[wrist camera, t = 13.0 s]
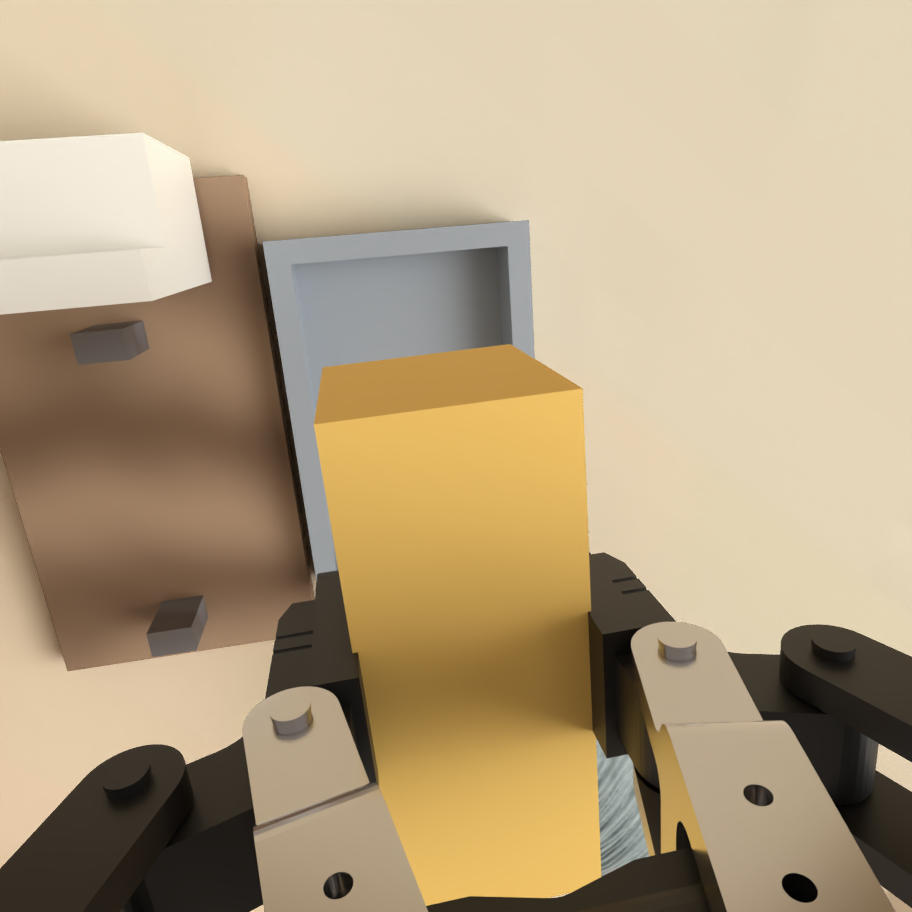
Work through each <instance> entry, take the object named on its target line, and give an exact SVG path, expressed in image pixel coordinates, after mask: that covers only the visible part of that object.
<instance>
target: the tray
mask: <svg viewBox="0 0 912 912" xmlns="http://www.w3.org/2000/svg"><path fill="white" fill-rule="evenodd" d="M263 248H264V254H265V261H266V267H267V273H268V279H269V286H270V292H271V298H272V305H273V311H274V317H275V323H276V330H277V336H278V342H279V349H280V355H281V361H282V367H283V374H284V380H285V386H286V393H287V399H288V405H289V411H290V418H291V424H292V430H293V437H294V443H295V449H296V455H297V462H298V468H299V474H300V481H301V487H302V493H303V499H304V506H305V512H306V518H307V525H308V531H309V537H310V543H311V550H312V556H313V562H314V568H315V575H316V581H317V574H318V573H323V572H330V571H336V570H338V565H337V559H336V553H335V547H334V541H333V535H332V529H331V523H330V517H329V512H328V506H327V500H326V494H325V488H324V482H323V476H322V470H321V464H320V458H319V452H318V447H317V441H316V435H315V429H314V420H315V413H316V407H317V401H318V394H319V388H320V381H321V375H322V368H323V367H329V366H337V365H345V364H353V363H361V362H369V361H377V360H385V359H393V358H401V357H409V356H417V355H426V354H434V353H442V352H450V351H458V350H466V349H474V348H482V347H490V346H498V345H506V344H511V345H513V346H514V347H516V348H518V349H519V350H521V351H522V352H524V353H526V354H527V355H529V356H531V357H532V358H534V359H535V357H534V333H533V308H532V284H531V260H530V236H529V220H525V221H512V222H500V223H488V224H475V225H463V226H450V227H438V228H426V229H413V230H401V231H388V232H376V233H364V234H351V235H339V236H326V237H314V238H302V239H289V240H277V241H265V242H263Z"/></svg>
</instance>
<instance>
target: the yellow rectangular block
mask: <svg viewBox="0 0 912 912" xmlns="http://www.w3.org/2000/svg"><path fill="white" fill-rule="evenodd" d="M314 429H315V435H316V441H317V447H318V452H319V458H320V464H321V470H322V476H323V482H324V488H325V494H326V500H327V506H328V512H329V517H330V523H331V529H332V535H333V541H334V547H335V553H336V559H337V565H338V571H339V577H340V582H341V588H342V594H343V600H344V606H345V612H346V618H347V624H348V630H349V636H350V642H351V647H352V653H356V652H358V655H359V661H360V667H361V673H362V679H363V685H364V691H365V697H366V703H367V709H368V715H369V721H370V727H371V733H372V739H373V745H374V751H375V757H376V763H377V769H378V778H379V788H380V790H381V792H382V795H383V797H384V800H385V802H386V805H387V807H388V810H389V813H390V815H391V818H392V820H393V823H394V825H395V828H396V830H397V833H398V836H399V838H400V841H401V843H402V846H403V848H404V851H405V853H406V856H407V858H408V861H409V864H410V866H411V869H412V871H413V874H414V876H415V879H416V881H417V884H418V887H419V889H420V892H421V894H422V897H423V899H424V902H425V904H426V906H428V905H432V904H437V903H441V902H446V901H450V900H455V899H459V898H464V897H468V896H481V897H522V898H549V897H553V896H557V895H562V894H566V893H571V892H574V891H575V890H577V889H579V888H581V887H583V886H585V885H587V884H589V883H591V882H593V881H595V880H597V879H598V878H600V877H601V852H600V826H599V800H598V774H597V748H596V737H595V735H594V733H593V726H592V702H591V677H590V652H589V627H588V612H591V593H590V567H589V541H588V515H587V490H586V464H585V438H584V412H583V389H582V388H581V387H579V386H578V385H576V384H574V383H573V382H571V381H569V380H568V379H566V378H565V377H563V376H561V375H560V374H558V373H556V372H555V371H553V370H552V369H550V368H548V367H547V366H545V365H544V364H542V363H540V362H539V361H537V360H535V359H534V358H532V357H531V356H529V355H527V354H526V353H524V352H522V351H521V350H519V349H518V348H516V347H514V346H513V345H511V344H506V345H498V346H490V347H482V348H474V349H466V350H458V351H450V352H442V353H434V354H426V355H417V356H409V357H401V358H393V359H385V360H377V361H369V362H361V363H353V364H345V365H337V366H329V367H323V368H322V375H321V381H320V388H319V394H318V401H317V407H316V413H315V420H314Z"/></svg>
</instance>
